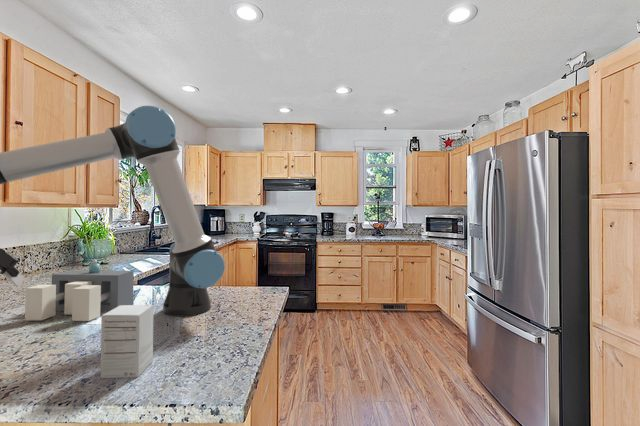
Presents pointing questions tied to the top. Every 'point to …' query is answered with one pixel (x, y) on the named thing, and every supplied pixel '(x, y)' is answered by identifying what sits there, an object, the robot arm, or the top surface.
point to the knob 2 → (87, 302)
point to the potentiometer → (94, 267)
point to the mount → (108, 279)
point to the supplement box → (126, 341)
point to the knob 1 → (41, 301)
